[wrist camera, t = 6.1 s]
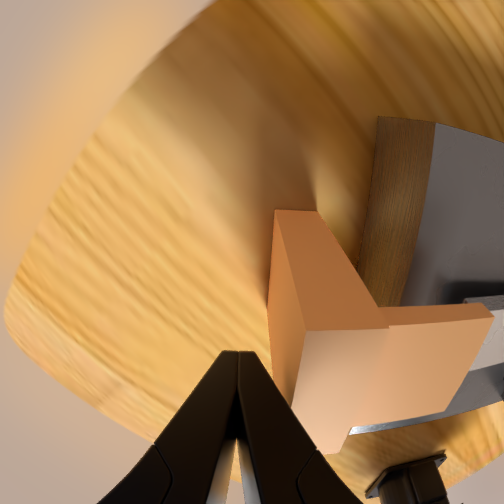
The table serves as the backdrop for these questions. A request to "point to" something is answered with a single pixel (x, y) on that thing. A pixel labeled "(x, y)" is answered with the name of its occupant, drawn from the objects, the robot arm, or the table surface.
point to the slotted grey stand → (435, 233)
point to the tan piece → (357, 339)
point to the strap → (491, 333)
